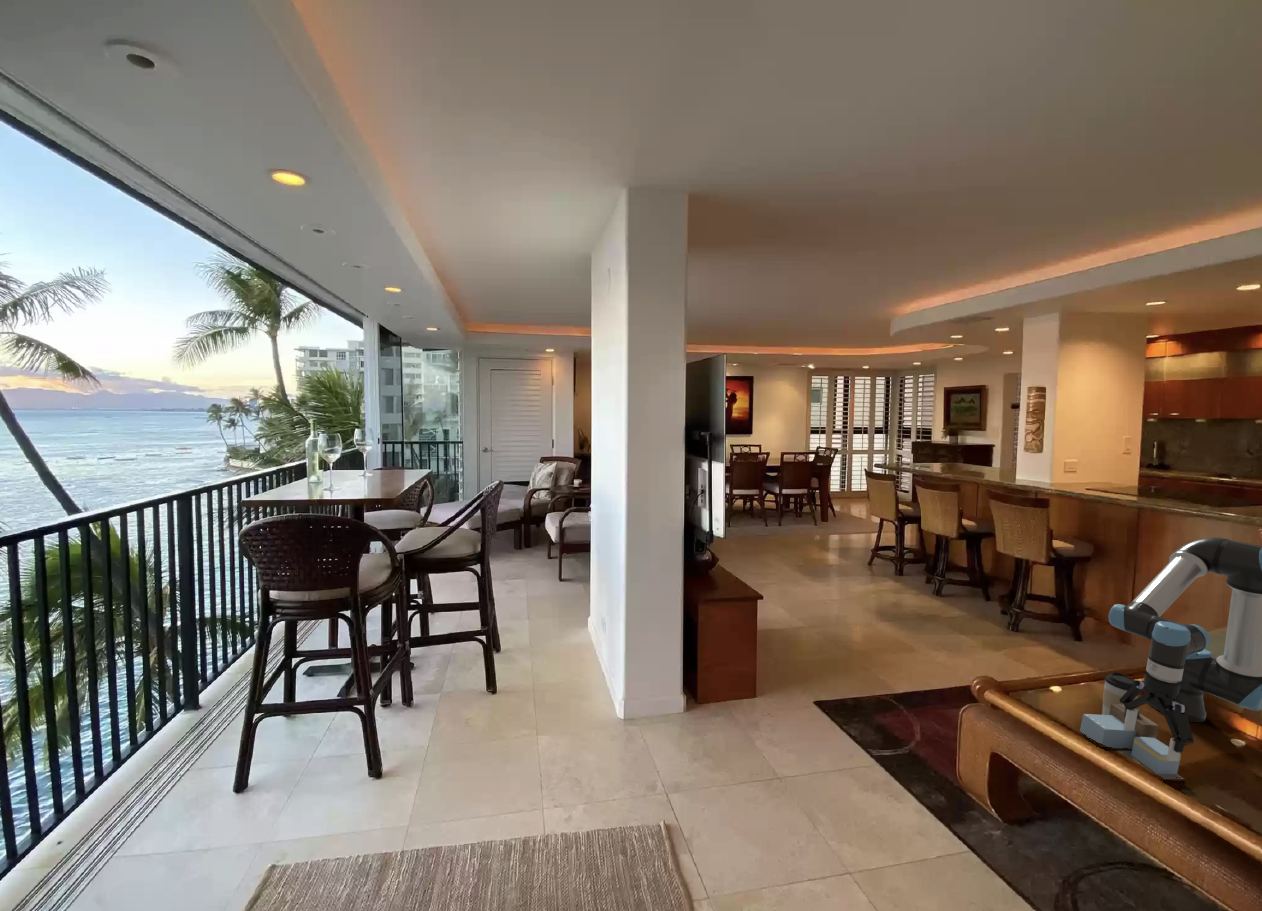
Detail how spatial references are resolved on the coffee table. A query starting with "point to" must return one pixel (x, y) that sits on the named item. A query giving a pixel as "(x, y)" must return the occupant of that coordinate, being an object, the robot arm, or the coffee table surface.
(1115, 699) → the coffee cup
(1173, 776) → the coaster
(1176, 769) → the light blue block
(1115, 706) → the brown block with knob
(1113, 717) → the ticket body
